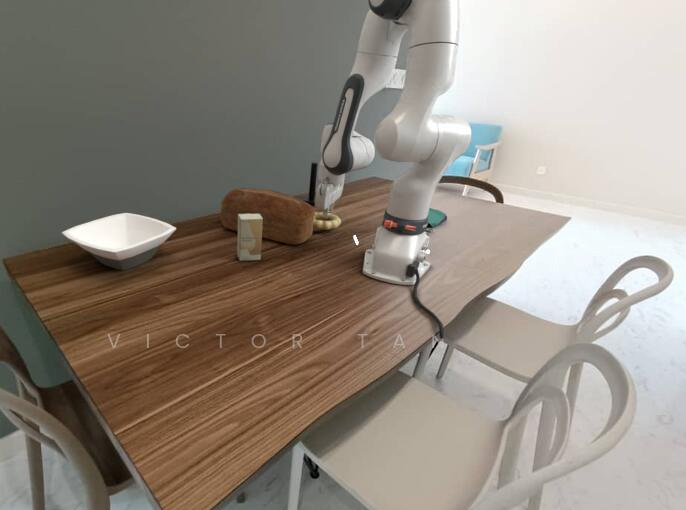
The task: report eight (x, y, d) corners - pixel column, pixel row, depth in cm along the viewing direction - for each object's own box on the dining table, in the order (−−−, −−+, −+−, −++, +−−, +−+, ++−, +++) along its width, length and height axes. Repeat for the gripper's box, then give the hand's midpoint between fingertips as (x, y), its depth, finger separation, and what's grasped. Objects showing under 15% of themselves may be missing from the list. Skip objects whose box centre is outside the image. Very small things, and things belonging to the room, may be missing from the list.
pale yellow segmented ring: (334, 233, 127) (335, 224, 126) (299, 226, 131) (300, 218, 129) (344, 222, 137) (345, 214, 135) (311, 216, 140) (312, 209, 139)
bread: (302, 250, 118) (306, 206, 111) (216, 229, 128) (214, 188, 121) (317, 237, 127) (321, 196, 120) (236, 219, 138) (235, 180, 131)
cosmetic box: (239, 261, 109) (239, 219, 102) (236, 255, 112) (236, 213, 106) (262, 260, 110) (263, 218, 104) (259, 253, 114) (259, 212, 108)
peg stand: (317, 206, 155) (321, 166, 147) (296, 202, 158) (299, 163, 150) (325, 201, 163) (329, 162, 155) (304, 197, 165) (308, 159, 158)
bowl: (186, 255, 110) (184, 227, 106) (118, 287, 93) (112, 255, 88) (131, 237, 119) (127, 210, 115) (60, 263, 102) (52, 232, 97)
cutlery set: (451, 217, 153) (452, 211, 152) (432, 240, 131) (434, 233, 130) (401, 206, 162) (402, 201, 160) (375, 226, 139) (377, 220, 138)
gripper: (331, 182, 120) (326, 226, 127) (348, 170, 137) (343, 209, 144) (311, 179, 122) (308, 222, 129) (331, 168, 139) (327, 207, 146)
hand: (327, 215), depth 137 cm, fingers closed on pale yellow segmented ring, 3 cm apart
